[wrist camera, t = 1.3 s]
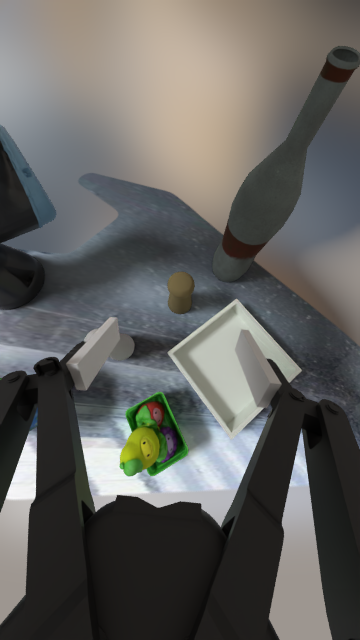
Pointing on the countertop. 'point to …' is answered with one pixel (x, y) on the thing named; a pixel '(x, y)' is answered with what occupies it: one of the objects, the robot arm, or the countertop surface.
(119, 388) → the countertop surface
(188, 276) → the cork
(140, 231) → the countertop surface
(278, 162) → the bottle
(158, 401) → the fruit basket
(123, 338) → the salt shaker
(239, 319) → the bin
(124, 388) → the countertop surface
